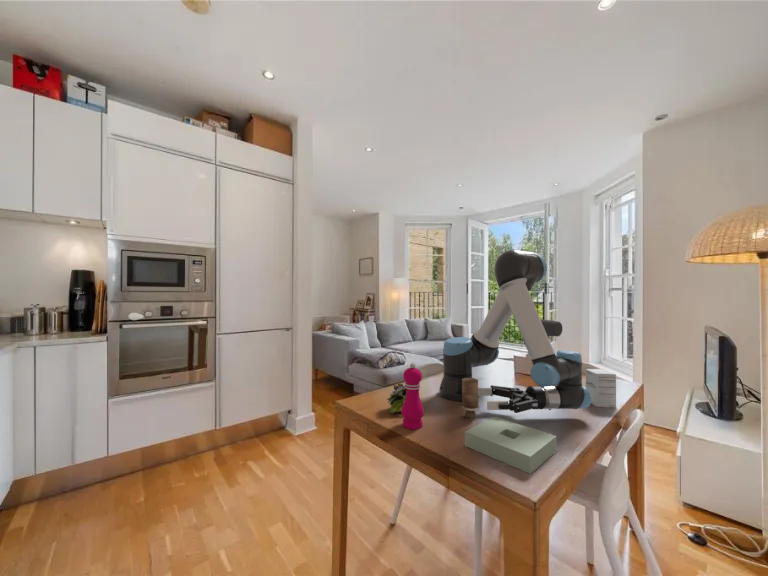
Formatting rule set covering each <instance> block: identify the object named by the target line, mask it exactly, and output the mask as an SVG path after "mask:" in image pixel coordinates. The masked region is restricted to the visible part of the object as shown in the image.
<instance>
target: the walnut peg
mask: <svg viewBox="0 0 768 576" xmlns="http://www.w3.org/2000/svg"><path fill="white" fill-rule="evenodd" d="M478 388H479V380H478V379H477V378H475V377H472V378H463V379H462V401H461V402H462V403H461V404H462V405H461V408H462V409H464V410H465V419H466V420H469V421H474V420H475V419H476V411H478V410H479V396H478Z"/></svg>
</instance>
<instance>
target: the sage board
mask: <svg viewBox="0 0 768 576" xmlns="http://www.w3.org/2000/svg"><path fill="white" fill-rule="evenodd" d="M464 446H465V447H466V448H469V449H471V450H474V451H476V452H477V453H481V454H483V455H486V456H488V457H490V458H492V459H495V460H497V461H500V462H502V463H503V464H507V465H509V466H512V467H513V468H516V469H518V470H521V471H523V472H525V473H528V474H530V475H531V474H532V473H534V471H535V470H537V469H538V468H539V467H540V466H541V465H543V464H544V462H546V461H547V460H548V459H549V458H550V457H551V456H553V455H552V454H555V453H556V452H557V436H556V435H553V434H550V433H548V432H544V431H542V430H539V429H538V430H537V429H535V428H531V427H528V426H526V425H522V424H519V423H516V422H513V421H510V420H507V419H504V418H501V417H497V416H492V417H491V418H489V419H487V420H485V421H483V422H481V423H479V424H477V425H475V426H473V427H471V428H469V429H467V430H466V431H465V432H464Z"/></svg>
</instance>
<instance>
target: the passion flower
mask: <svg viewBox="0 0 768 576" xmlns="http://www.w3.org/2000/svg"><path fill="white" fill-rule="evenodd" d="M405 398H406V388H405V384H404V383H397V384H394V385H393V391H392V393H390V394H389V397H387V398H386V400H387V401H388V404H389V405H390V408H389V414H390V415H392V414H394V413H399V412H401V411H402V406H403V403H404V401H405Z"/></svg>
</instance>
